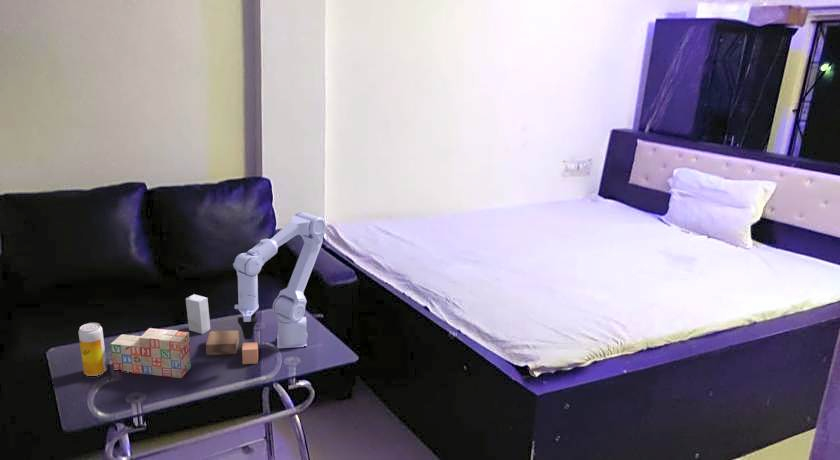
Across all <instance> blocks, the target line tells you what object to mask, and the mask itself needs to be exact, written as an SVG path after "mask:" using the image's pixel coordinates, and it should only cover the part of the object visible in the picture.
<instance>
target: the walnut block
mask: <svg viewBox="0 0 840 460" xmlns="http://www.w3.org/2000/svg"><path fill="white" fill-rule="evenodd" d="M239 331H240V330H238V329H237V330H212V331H210V330H209V334H208V337H207V340H206V343H205V350H206V351H205V352H206V356H216V355H217V356H220V355H222V356H223V355H237V353H238V352H237V351H238V347H239V343H240V333H239Z"/></svg>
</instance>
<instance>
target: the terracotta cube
mask: <svg viewBox="0 0 840 460" xmlns="http://www.w3.org/2000/svg"><path fill="white" fill-rule="evenodd" d="M241 352H242V354H241V357H242V365H250V364H251V365H252V364H254V365H255V364H258V363H259V342H257V341H256V342H253V341H252V342H243V343H242V349H241Z"/></svg>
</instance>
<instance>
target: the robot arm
mask: <svg viewBox="0 0 840 460" xmlns="http://www.w3.org/2000/svg"><path fill="white" fill-rule="evenodd" d="M327 228H328V226H327V224H326V221H325V219H324V218H323V217H321V216H316V215H313V214H311V213H307V212H306V211H303V210H302V211H298V212H296V213H295V214H294V215H293V216H291V218H290V221H289V222H288V223H287V224H286V225H285V226H283V228H281V229H280V230H279V231H278V232H277V233H276V234H275V235H273V237H272V236H271V238H264V239H263V238H262V239H261V240H259V242H258V243H257V244H256V245H255V246H253V247H252V248H251V249H249V250H247V252H242V253H239V254H238V255H237V256H236V257H235V259H234V263H233V262H232V266H233V269H235V271H236V276H237V292H238V293H237V295H238V296H237V297H238V300H237V301H238V304H234V309H235V310H238V311H239V312H240V313H241V315H242V316H238V317H237V323H238V324H239V326H240V328H241V332H242V334H243V338H244V340H252V339H253V334H254V329H255V326H256V324H257V322H258V317H256V315H257V312H258V309H259V308H260V307H259V306H260V304H259V290H258V289H259V282H258V281H259V280H258V274H260V272H261V270H262V268H263V266H264V265H265V263H266V262H268V261H269V260H271V258H272V257H274V256H275V255H276V254H278V249H279V247H281V246H282V245H284V244H285V243H287V242H288V241H290V240H291V239H293V238H294V237H295V236H296V237H297V236H301V238H302V240H303V245H302V248H301V251H300V253H299V256H298V258H297V261H296V263H295V267H294V269H293V271H292V274H291V277H290V279H289V282H288V284H287V287H285V288H284V289H282V290H280V291H279V294H278V295H277V297H276V298H275V299H274V301H273V303H272V310H273V312H274V313H275V314H276V318H277V332H278V333H277V337H276V348H277V349H289V348H290V349H292V348H305V347H304V346H306V347H307V345H308V344H307V339H308V332H307V317H306V316H304V315H305V313H306V305H307V302H308V301H307V299H306V298H307V297H306V296H305V295H304V294H305V293H304V292H305V289H306V286H307V284H308V281H309V278H310V277H311V274H312V271H313V269H314V266H315V264H316V261H317V259H318V258H317V257H318V256H319V253H320V250H321V247H322V245H323V243H324V242H323V241H324V236H325V234H326V231H327Z"/></svg>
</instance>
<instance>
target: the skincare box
mask: <svg viewBox="0 0 840 460" xmlns="http://www.w3.org/2000/svg"><path fill="white" fill-rule="evenodd" d="M208 299H209V298H208V297H205V296H202V295H200V294H199V295H198V294H195V293H193V294H192V295H190V296H188V297H186V298H185V305H186V312H187V313H186V314H187V323H188V331H191V332H193V333H198V334H201V335H204V334H206V333H207V332H210V330H211V320H210V312H209V311H210V308H209V302H208V301H209V300H208Z"/></svg>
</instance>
